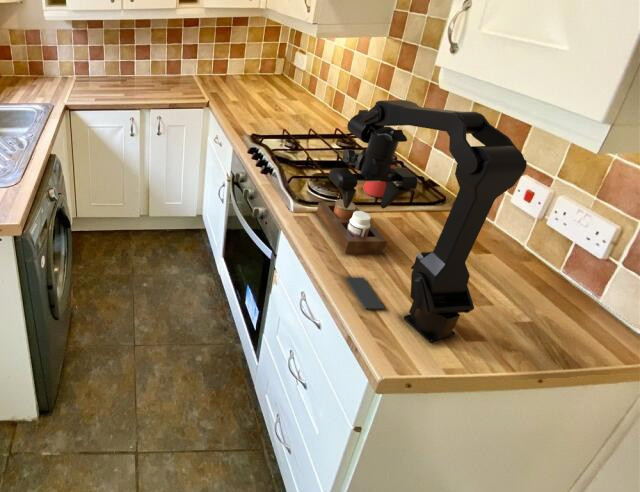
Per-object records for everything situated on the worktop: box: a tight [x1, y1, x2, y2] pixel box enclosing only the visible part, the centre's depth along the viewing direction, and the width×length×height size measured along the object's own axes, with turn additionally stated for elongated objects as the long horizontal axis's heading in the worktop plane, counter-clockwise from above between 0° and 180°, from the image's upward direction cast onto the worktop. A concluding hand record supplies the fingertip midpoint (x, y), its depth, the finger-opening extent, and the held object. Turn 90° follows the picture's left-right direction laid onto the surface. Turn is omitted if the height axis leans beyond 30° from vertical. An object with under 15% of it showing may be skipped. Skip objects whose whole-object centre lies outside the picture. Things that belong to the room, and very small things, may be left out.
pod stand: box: [315, 201, 388, 255], centre depth 110 cm, size 10×17×4 cm, turn 0°
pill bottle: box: [347, 210, 372, 237], centre depth 106 cm, size 5×5×8 cm
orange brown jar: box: [333, 198, 357, 218], centre depth 113 cm, size 5×5×6 cm
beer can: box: [362, 165, 396, 198], centre depth 126 cm, size 7×7×12 cm
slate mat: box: [345, 277, 386, 311], centre depth 91 cm, size 9×4×1 cm, turn 179°
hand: (363, 207), depth 103 cm, fingers open, 9 cm apart
